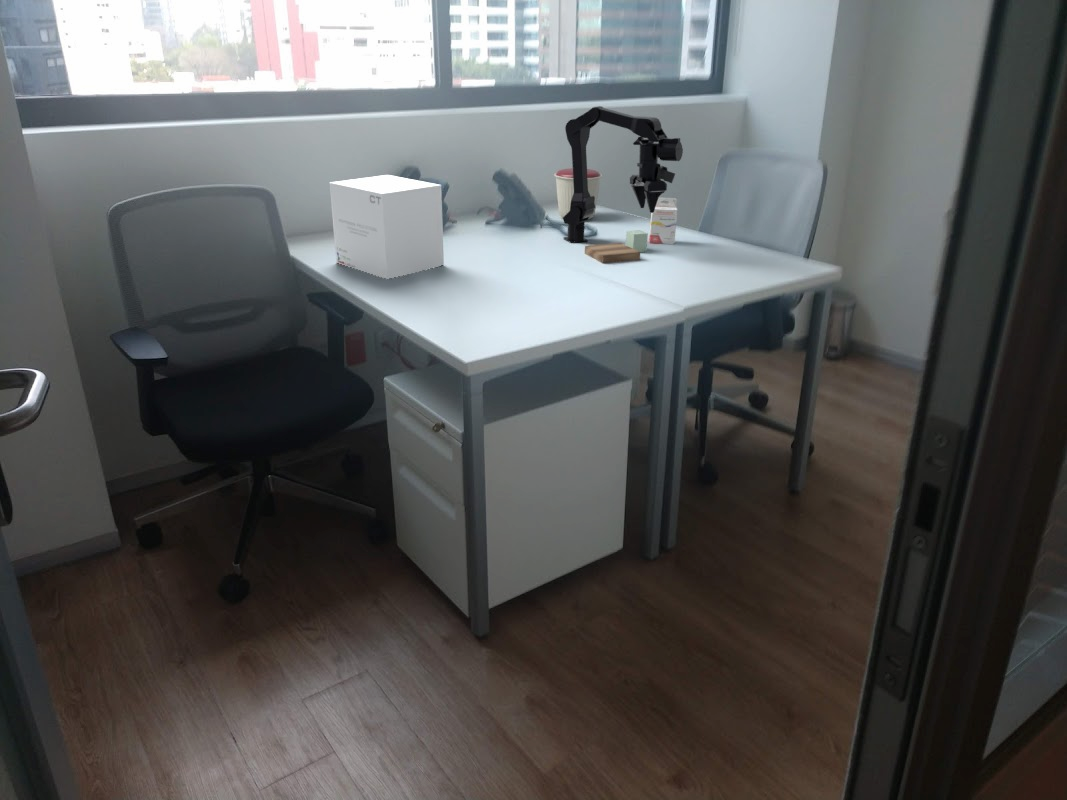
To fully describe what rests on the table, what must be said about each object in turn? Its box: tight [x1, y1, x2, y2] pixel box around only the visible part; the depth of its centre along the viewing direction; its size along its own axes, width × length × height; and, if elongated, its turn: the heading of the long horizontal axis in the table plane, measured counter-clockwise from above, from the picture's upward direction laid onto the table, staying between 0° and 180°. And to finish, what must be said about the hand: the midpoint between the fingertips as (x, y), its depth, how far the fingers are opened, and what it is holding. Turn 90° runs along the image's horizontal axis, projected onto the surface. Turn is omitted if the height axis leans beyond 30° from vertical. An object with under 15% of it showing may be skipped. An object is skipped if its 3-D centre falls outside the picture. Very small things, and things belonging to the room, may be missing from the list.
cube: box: [328, 174, 445, 280], centre depth 241 cm, size 25×21×24 cm
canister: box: [553, 167, 603, 221], centre depth 307 cm, size 18×18×21 cm
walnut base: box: [584, 242, 641, 264], centre depth 258 cm, size 13×13×3 cm
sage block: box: [625, 229, 649, 253], centre depth 265 cm, size 5×5×6 cm
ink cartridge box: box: [648, 197, 678, 245], centre depth 274 cm, size 9×5×15 cm, turn 84°
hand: (647, 210), depth 260 cm, fingers open, 9 cm apart
